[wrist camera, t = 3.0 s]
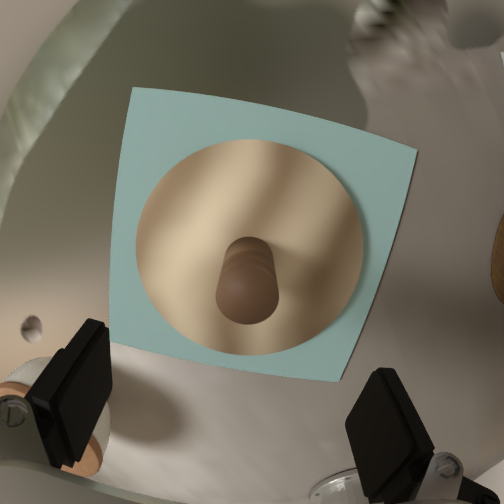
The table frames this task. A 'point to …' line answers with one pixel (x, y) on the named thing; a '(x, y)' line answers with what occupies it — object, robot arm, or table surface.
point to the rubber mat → (262, 128)
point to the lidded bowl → (99, 439)
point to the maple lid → (249, 247)
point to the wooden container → (498, 262)
